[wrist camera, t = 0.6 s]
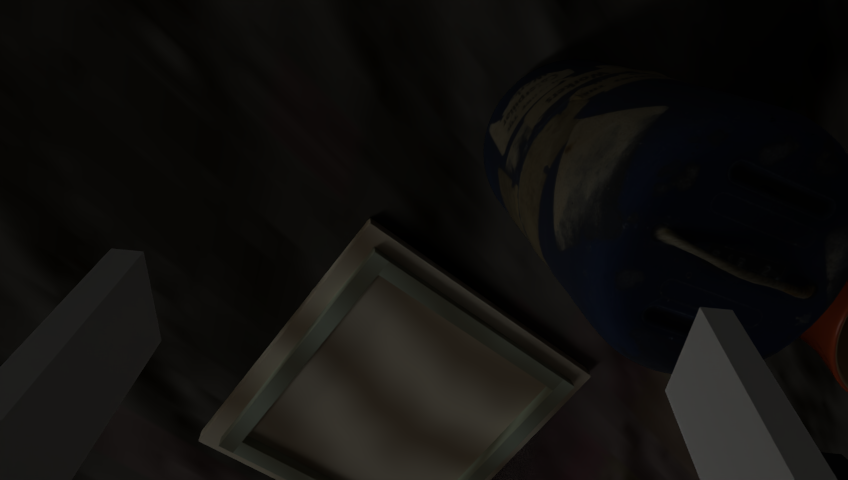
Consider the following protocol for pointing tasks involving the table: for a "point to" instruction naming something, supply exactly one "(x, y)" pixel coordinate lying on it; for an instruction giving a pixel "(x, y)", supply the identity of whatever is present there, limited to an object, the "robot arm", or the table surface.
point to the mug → (832, 337)
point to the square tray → (393, 377)
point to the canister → (671, 204)
